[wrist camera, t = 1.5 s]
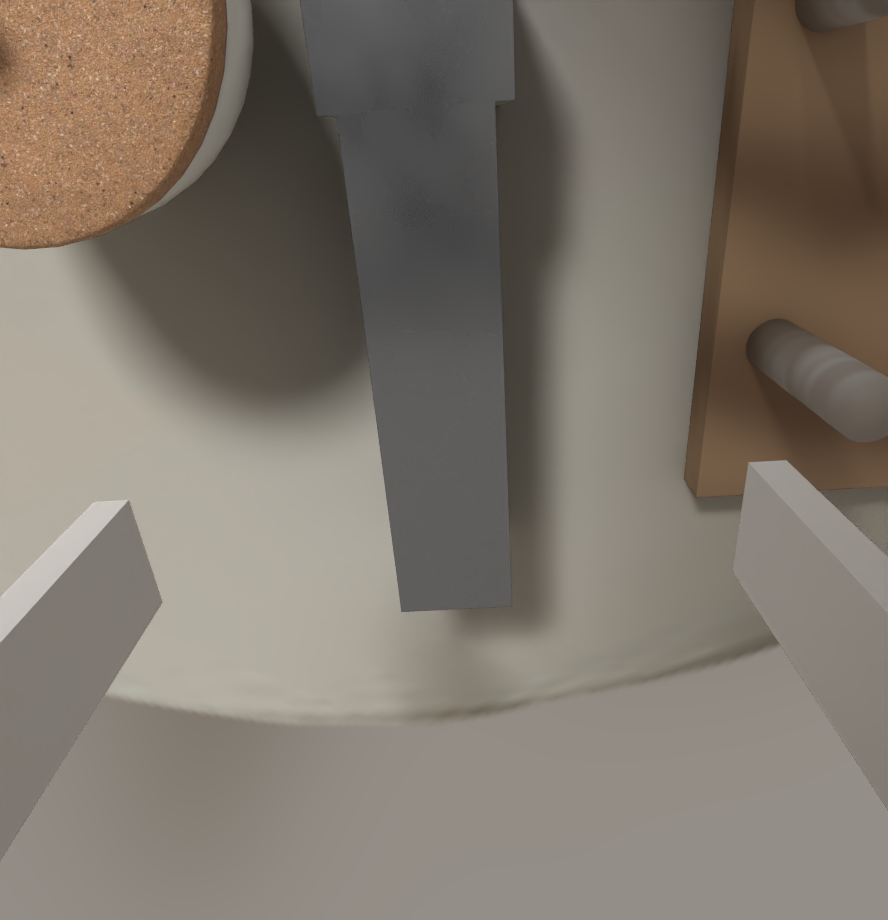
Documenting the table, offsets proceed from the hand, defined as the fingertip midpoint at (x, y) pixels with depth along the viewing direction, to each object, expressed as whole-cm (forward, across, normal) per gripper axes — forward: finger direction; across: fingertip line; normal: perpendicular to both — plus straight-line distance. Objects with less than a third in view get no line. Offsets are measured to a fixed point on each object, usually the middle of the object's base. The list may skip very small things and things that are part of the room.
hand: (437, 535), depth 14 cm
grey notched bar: (+12, 0, +2) cm, 12 cm away
